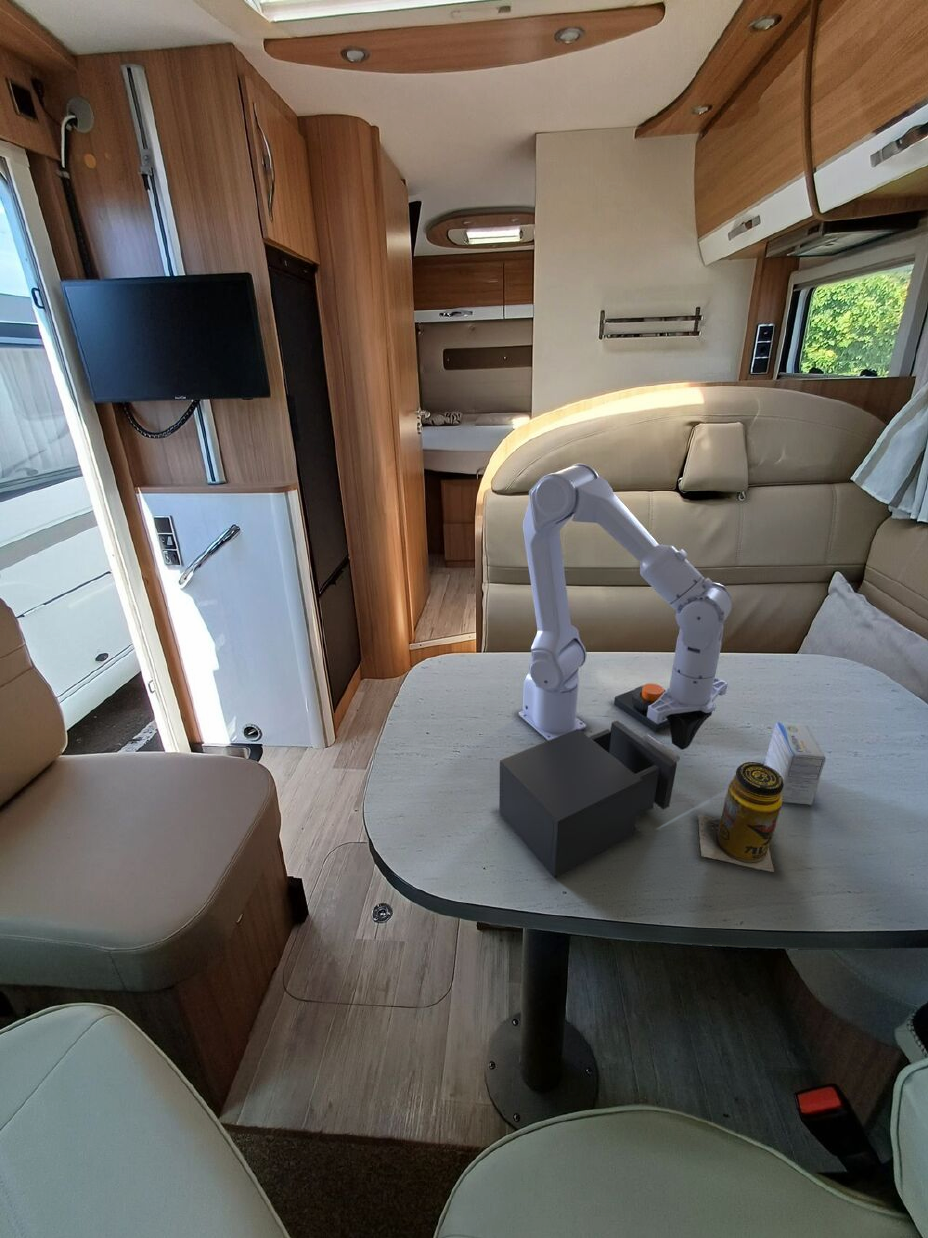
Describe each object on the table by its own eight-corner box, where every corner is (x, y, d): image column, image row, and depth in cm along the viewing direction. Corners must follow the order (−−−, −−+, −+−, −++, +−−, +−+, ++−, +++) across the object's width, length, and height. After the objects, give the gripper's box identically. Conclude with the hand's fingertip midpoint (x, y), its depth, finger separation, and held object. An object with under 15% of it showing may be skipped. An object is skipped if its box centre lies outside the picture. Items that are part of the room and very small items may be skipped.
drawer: (632, 751, 89) (637, 711, 86) (689, 795, 80) (698, 752, 77) (548, 789, 82) (551, 747, 78) (602, 842, 73) (607, 797, 70)
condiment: (773, 873, 69) (797, 800, 64) (701, 857, 72) (717, 785, 66) (764, 829, 75) (784, 759, 70) (697, 816, 78) (712, 747, 73)
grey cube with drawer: (573, 779, 85) (578, 728, 81) (634, 834, 75) (642, 779, 71) (499, 813, 79) (499, 760, 75) (554, 878, 69) (558, 821, 65)
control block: (613, 704, 103) (615, 688, 101) (645, 691, 106) (647, 676, 105) (655, 733, 95) (657, 716, 93) (687, 718, 98) (690, 702, 97)
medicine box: (811, 806, 79) (828, 758, 75) (777, 802, 80) (792, 754, 76) (794, 769, 86) (808, 723, 82) (762, 766, 87) (775, 720, 83)
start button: (637, 695, 100) (638, 686, 99) (651, 689, 101) (652, 681, 101) (652, 705, 97) (653, 696, 96) (667, 699, 99) (668, 690, 98)
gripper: (681, 696, 72) (666, 777, 78) (752, 666, 79) (734, 743, 85) (640, 672, 78) (630, 749, 84) (710, 646, 84) (695, 719, 90)
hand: (679, 745), depth 85 cm, fingers closed
